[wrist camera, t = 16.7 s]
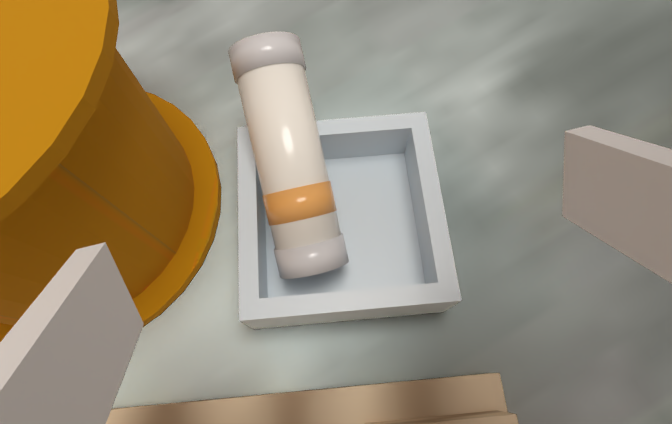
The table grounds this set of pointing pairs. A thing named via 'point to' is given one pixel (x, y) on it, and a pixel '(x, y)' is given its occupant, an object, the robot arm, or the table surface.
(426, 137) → the tray
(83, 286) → the robot arm
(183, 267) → the spool
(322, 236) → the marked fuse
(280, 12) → the table surface
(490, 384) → the fuse block
